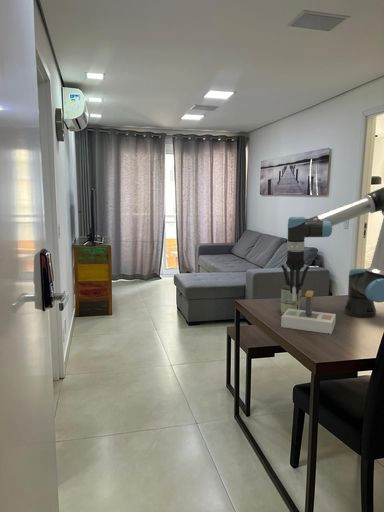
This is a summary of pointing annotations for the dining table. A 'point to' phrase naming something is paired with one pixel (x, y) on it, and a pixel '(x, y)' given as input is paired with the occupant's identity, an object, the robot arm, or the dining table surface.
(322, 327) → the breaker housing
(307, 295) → the breaker lever
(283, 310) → the coffee can
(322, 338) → the dining table surface
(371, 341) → the dining table surface
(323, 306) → the dining table surface
